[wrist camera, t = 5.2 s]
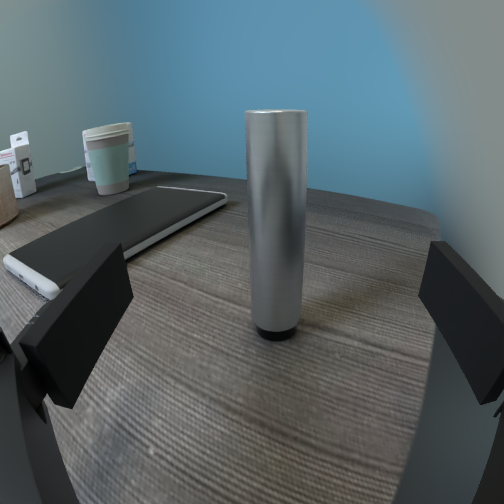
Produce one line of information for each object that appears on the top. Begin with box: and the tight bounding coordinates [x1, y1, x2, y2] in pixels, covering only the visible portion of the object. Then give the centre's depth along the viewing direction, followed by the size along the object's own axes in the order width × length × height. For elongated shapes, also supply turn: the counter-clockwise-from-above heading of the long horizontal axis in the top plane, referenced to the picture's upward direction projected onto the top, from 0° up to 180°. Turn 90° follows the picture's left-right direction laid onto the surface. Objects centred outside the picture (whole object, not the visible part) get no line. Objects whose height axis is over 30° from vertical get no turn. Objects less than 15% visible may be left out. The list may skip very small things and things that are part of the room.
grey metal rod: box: [245, 110, 308, 341], centre depth 17 cm, size 3×3×13 cm
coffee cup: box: [84, 123, 130, 195], centre depth 51 cm, size 8×9×12 cm
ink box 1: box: [0, 131, 36, 198], centre depth 57 cm, size 8×5×15 cm, turn 76°
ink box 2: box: [82, 123, 137, 181], centre depth 63 cm, size 9×8×12 cm
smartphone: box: [3, 186, 227, 300], centre depth 35 cm, size 13×27×2 cm, turn 152°
